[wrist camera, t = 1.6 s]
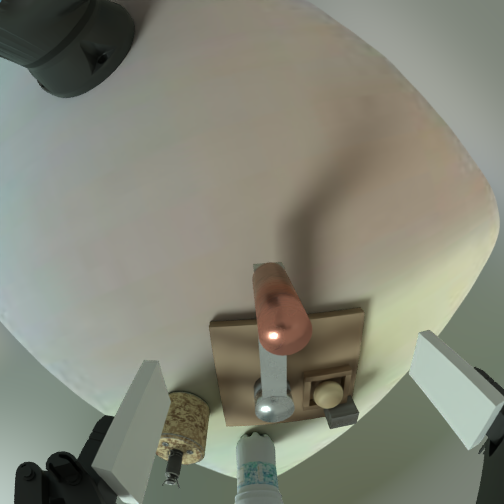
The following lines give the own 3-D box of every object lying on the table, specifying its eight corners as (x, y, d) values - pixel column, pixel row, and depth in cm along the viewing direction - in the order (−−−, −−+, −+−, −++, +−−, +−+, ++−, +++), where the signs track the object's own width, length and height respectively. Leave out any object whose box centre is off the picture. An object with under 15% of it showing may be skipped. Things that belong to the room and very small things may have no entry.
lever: (291, 408, 32) (307, 481, 20) (255, 412, 32) (260, 486, 20) (291, 255, 27) (326, 304, 15) (242, 258, 27) (242, 312, 15)
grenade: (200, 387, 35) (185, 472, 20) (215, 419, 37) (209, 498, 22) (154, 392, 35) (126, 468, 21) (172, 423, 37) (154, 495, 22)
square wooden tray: (210, 321, 33) (204, 345, 27) (360, 307, 33) (378, 326, 28) (226, 419, 37) (225, 445, 31) (346, 405, 37) (356, 428, 32)
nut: (311, 377, 33) (318, 396, 30) (339, 372, 33) (348, 390, 30) (310, 397, 34) (315, 416, 30) (336, 393, 34) (344, 411, 31)
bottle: (234, 428, 37) (233, 535, 18) (276, 427, 38) (290, 532, 18) (235, 450, 39) (235, 545, 19) (273, 449, 39) (285, 543, 20)
